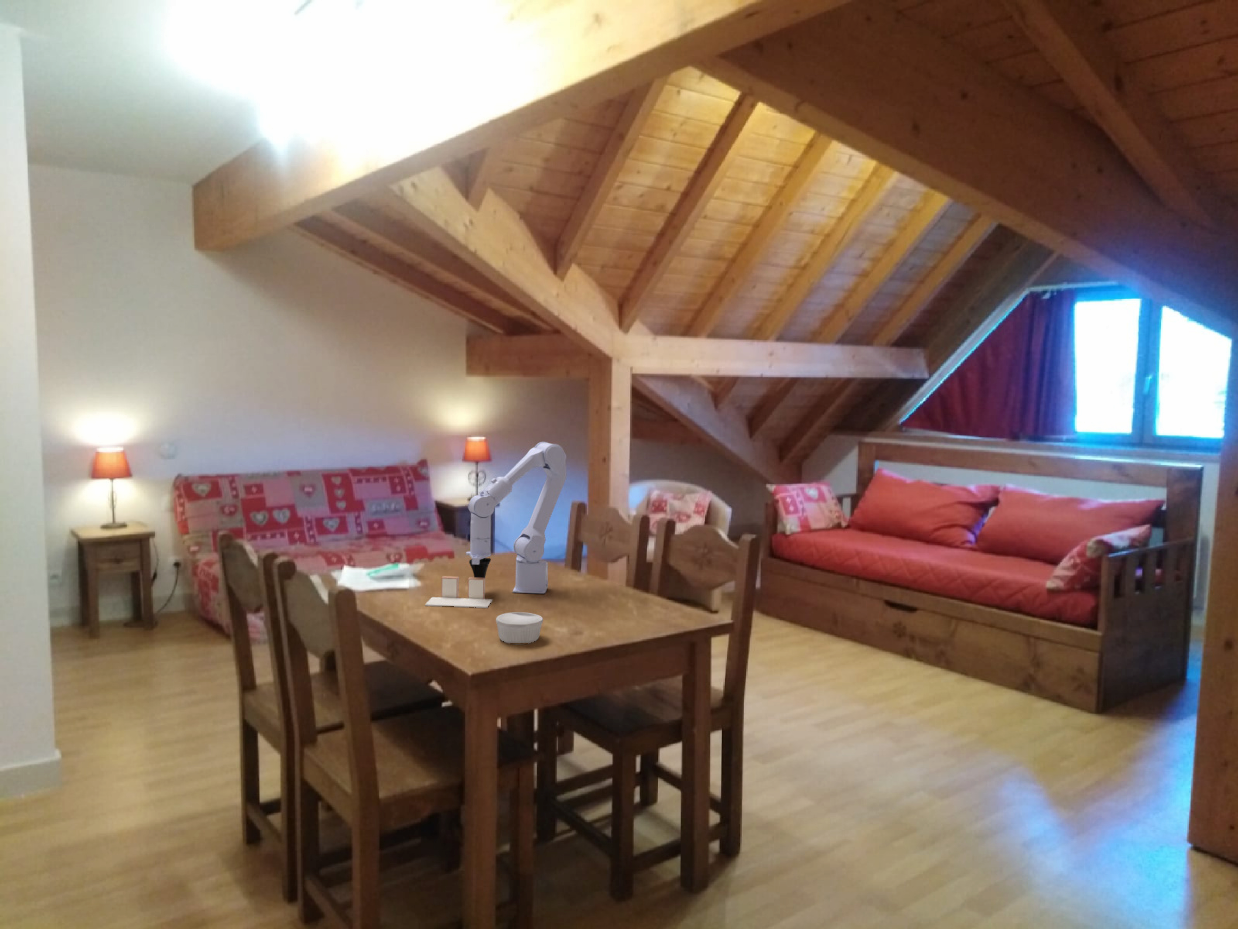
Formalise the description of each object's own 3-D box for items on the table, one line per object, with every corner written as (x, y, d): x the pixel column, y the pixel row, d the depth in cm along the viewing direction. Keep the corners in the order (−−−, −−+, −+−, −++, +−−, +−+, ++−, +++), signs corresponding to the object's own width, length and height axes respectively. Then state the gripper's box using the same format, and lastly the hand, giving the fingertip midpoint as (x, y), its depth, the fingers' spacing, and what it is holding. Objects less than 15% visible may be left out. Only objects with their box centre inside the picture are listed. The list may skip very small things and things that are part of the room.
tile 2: (484, 598, 251) (485, 577, 251) (483, 600, 249) (484, 579, 249) (469, 598, 251) (469, 577, 251) (467, 599, 250) (468, 578, 249)
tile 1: (458, 597, 251) (458, 576, 251) (457, 599, 250) (457, 578, 249) (442, 597, 251) (442, 576, 251) (441, 598, 250) (441, 577, 249)
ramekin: (545, 633, 220) (545, 612, 219) (539, 647, 209) (539, 625, 208) (500, 631, 220) (500, 610, 219) (491, 645, 209) (492, 623, 208)
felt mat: (492, 600, 249) (492, 599, 249) (487, 608, 241) (487, 606, 241) (431, 598, 249) (431, 597, 249) (425, 605, 241) (425, 604, 241)
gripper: (471, 532, 261) (470, 577, 262) (461, 541, 247) (460, 589, 248) (495, 533, 261) (494, 578, 262) (486, 542, 246) (485, 590, 248)
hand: (479, 584), depth 255 cm, fingers closed
